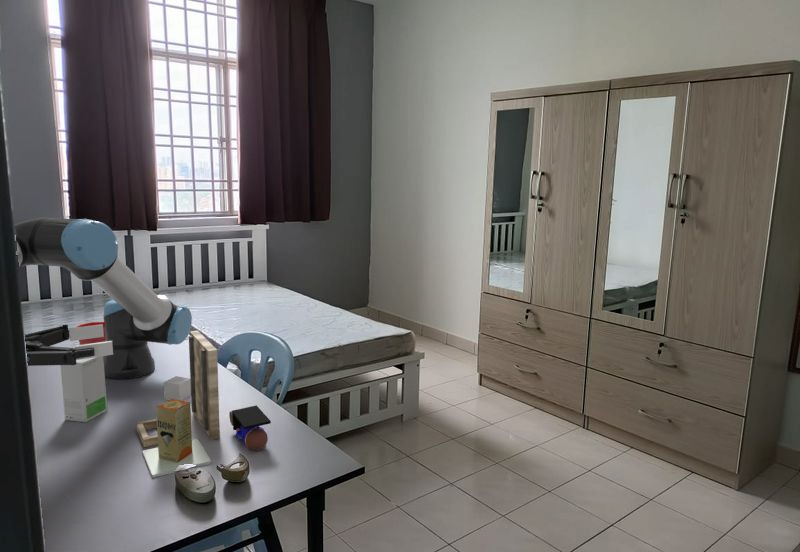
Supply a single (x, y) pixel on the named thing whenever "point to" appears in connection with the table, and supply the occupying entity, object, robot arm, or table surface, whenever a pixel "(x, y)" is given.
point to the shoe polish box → (174, 430)
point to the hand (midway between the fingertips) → (107, 338)
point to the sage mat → (167, 467)
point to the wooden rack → (197, 390)
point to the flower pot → (92, 340)
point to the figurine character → (250, 426)
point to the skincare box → (84, 389)
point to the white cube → (177, 388)
